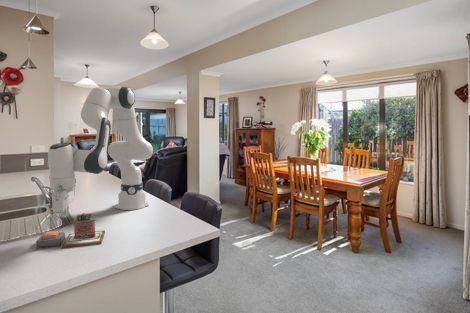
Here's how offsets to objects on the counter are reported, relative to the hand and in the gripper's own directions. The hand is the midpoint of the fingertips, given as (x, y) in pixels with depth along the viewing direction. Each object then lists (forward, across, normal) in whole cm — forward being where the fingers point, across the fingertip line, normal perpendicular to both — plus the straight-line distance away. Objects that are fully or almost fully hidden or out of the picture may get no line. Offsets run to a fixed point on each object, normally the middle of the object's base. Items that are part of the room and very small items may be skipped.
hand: (65, 216), depth 116 cm
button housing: (+10, -3, +5) cm, 12 cm away
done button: (+9, -3, +5) cm, 10 cm away
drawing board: (+10, -3, -7) cm, 13 cm away
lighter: (+9, -2, -7) cm, 12 cm away
